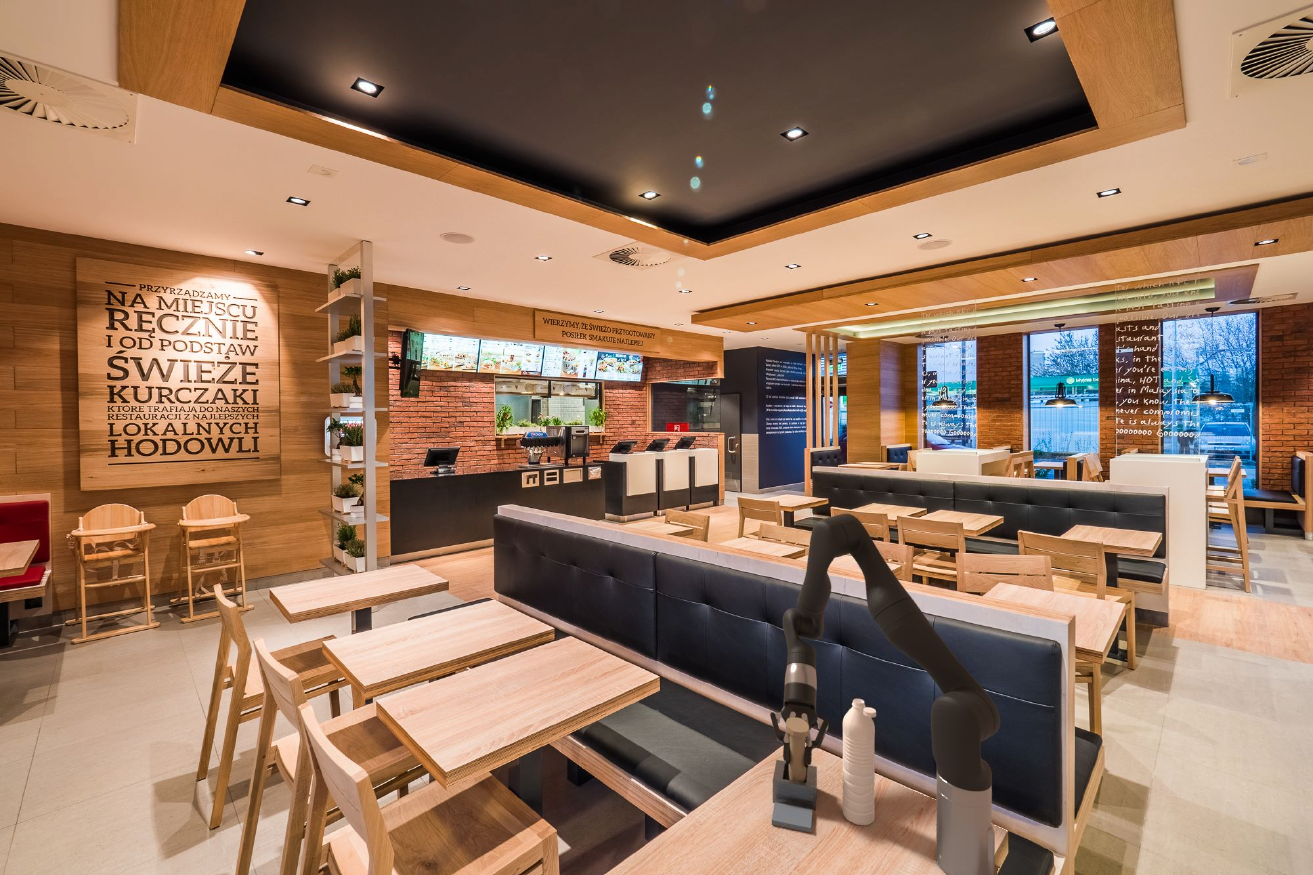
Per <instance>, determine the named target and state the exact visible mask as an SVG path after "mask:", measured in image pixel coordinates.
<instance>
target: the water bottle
mask: <svg viewBox="0 0 1313 875" xmlns="http://www.w3.org/2000/svg"><path fill="white" fill-rule="evenodd" d="M851 705H852V707H851V708H849V709H848V711H847V712H846V714H845V715H844V717H843V719H842V809H841V810H842V814H843V816H844V818H845V820H847V821H848V822H850V823H852V824H854V825H858V826H869V825H870V824H872V823H873V822H874V821H875V785H876V784H875V776H876V774H875V765H876V764H875V735H876V734H875V733H876V730H875V726H876V725H875V723H874V720H873V719H872V718H876V717H877V711H876V709H875V708H873V707H869V706H866V704H865V700H864V699H861V698H854V699H853V700H852V703H851Z"/></svg>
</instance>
